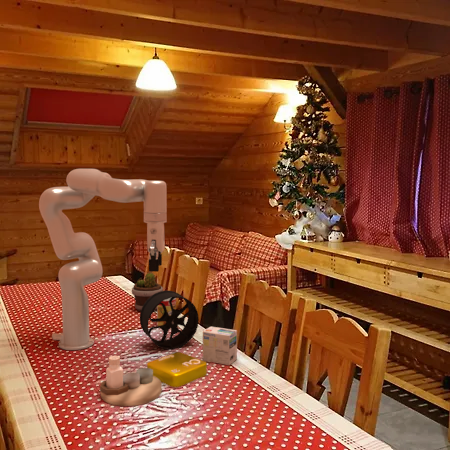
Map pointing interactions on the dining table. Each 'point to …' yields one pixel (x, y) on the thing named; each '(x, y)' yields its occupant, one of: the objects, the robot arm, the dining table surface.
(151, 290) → the flowerpot
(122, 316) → the dining table surface
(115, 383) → the salt shaker
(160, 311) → the canned food
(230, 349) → the light bulb box
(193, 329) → the car wheel rim
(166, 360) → the element tile
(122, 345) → the dining table surface
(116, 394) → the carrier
